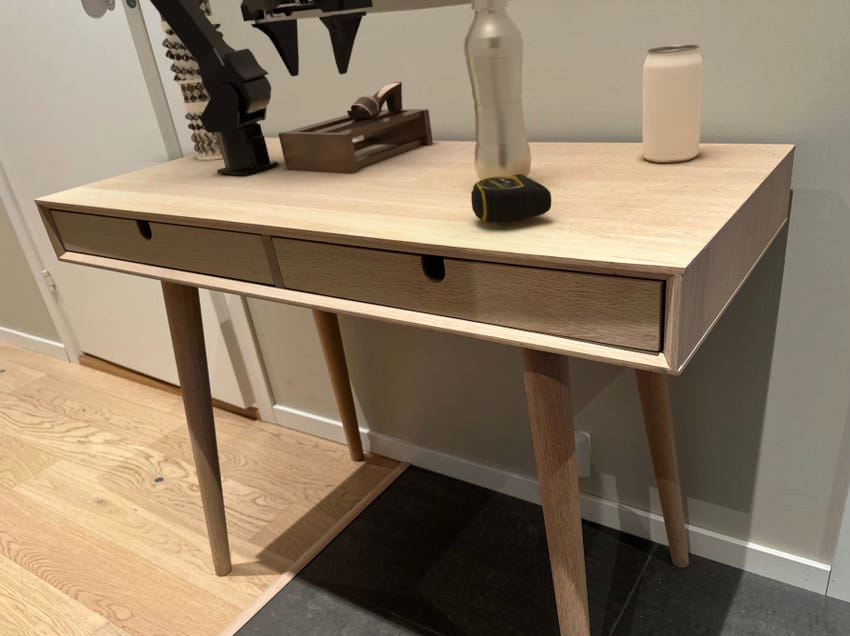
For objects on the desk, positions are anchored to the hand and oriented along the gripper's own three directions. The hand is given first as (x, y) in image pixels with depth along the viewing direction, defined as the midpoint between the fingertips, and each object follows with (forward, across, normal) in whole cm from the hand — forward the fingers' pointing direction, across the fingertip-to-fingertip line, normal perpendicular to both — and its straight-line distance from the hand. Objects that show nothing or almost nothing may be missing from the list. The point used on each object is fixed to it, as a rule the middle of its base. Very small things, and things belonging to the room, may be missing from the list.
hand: (318, 74), depth 94 cm
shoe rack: (+12, 0, +6) cm, 13 cm away
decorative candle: (+12, -29, +3) cm, 32 cm away
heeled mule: (+7, 0, +10) cm, 12 cm away
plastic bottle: (+12, +31, -4) cm, 34 cm away
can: (+12, +45, +11) cm, 48 cm away
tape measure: (+12, +39, -15) cm, 44 cm away
